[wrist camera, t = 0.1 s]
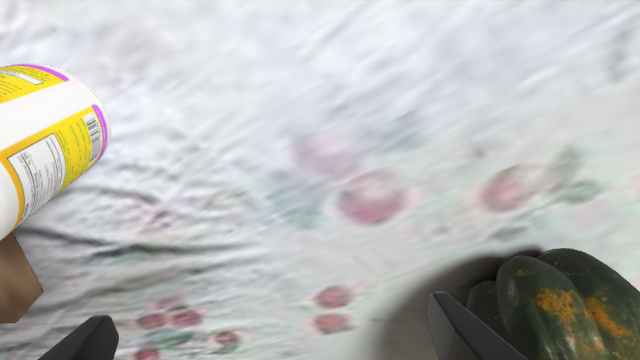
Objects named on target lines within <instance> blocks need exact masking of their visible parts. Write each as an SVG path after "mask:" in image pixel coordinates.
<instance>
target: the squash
mask: <svg viewBox="0 0 640 360" xmlns="http://www.w3.org/2000/svg"><path fill="white" fill-rule="evenodd" d="M465 308H466V309H467V310H469V311H470V312H471V313H472V314H473V315H475V316H476V317H477V318H478V319H479V320H481V321H482V322H483V323H484V324H485V325H487V326H488V327H489V328H490V329H491V330H493V331H494V332H495V333H496V334H497V335H499V336H500V337H501V338H502V339H503V340H505V341H506V342H507V343H508V344H509V345H511V346H512V347H513V348H514V349H515V350H517V351H518V352H519V353H520V354H521V355H523V356H524V357H525V358H526V359H527V360H640V292H639V291H638V290H637V289H636V288H635V287H634V286H632V285H631V284H630V283H629V282H628V281H627V280H625V279H624V278H623V277H622V276H621V275H620V274H618V273H617V272H616V271H614V270H613V269H612V268H610V267H609V266H607V265H606V264H604V263H603V262H601V261H599V260H598V259H596V258H594V257H593V256H591V255H589V254H587V253H585V252H582V251H578V250H574V249H567V248H560V249H552V250H548V251H546V252H544V253H542V254H541V255H539V256H537V257H536V258H534V257H530V256H514V257H512V258H510V259H509V260H507V261H505V262H503V264H502V265H501V266H500V268H499V270H498V272H497V278H496V281H483V282H481V283H480V284H478V285H477V286H475V287H474V288H472V290H471V291H470V294H469V296H468V301H467V305H466V306H465Z"/></svg>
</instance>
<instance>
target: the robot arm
mask: <svg viewBox="0 0 640 360" xmlns="http://www.w3.org/2000/svg"><path fill="white" fill-rule="evenodd" d="M427 319H428V323H429V326H430V330H431V333H432V337H433V340H434V344H435V347H436V351H437V354H438V358H439V360H527V359H526V358H525V357H524V356H523V355H521V354H520V353H519V352H518V351H517V350H515V349H514V348H513V347H512V346H511V345H509V344H508V343H507V342H506V341H505V340H503V339H502V338H501V337H500V336H499V335H497V334H496V333H495V332H494V331H493V330H491V329H490V328H489V327H488V326H487V325H485V324H484V323H483V322H482V321H481V320H479V319H478V318H477V317H476V316H475V315H473V314H472V313H471V312H470V311H469V310H467V309H466V308H465V307H464V306H462V305H461V304H460V303H459V302H458V301H456V300H455V299H454V298H453V297H452V296H450V295H449V294H448V293H446V292H433V293H431V295H430V299H429V304H428V309H427ZM118 341H119V335H118V332H117V330H116V327H115V325H114V323H113V321H112V318H111V317H110V316H109V315H96V316H92V317H90V318H89V319H88V320H86V321H85V322H84V323H83V324H81V325H80V326H79V327H78V328H76V329H75V330H74V331H73V332H71V333H70V334H69V335H68V336H66V337H65V338H64V339H63V340H61V341H60V342H59V343H58V344H56V345H55V346H54V347H53V348H51V349H50V350H49V351H48V352H46V353H45V354H44V355H43V356H41V357H40V358H39V359H38V360H113V359H114V355H115V352H116V349H117V346H118Z"/></svg>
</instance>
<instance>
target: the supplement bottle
mask: <svg viewBox="0 0 640 360" xmlns="http://www.w3.org/2000/svg"><path fill="white" fill-rule="evenodd" d="M110 137H111V125H110V120H109V116H108V114H107V111H106V109H105V107H104V105H103V103H102V102H101V100H100V99H99V98H98V96H97V95H96V94H95V93H94V92H93V90H92V89H91V88H90V87H89V86H87V85H86V84H85V83H84V82H83V81H81V80H80V79H78V78H77V77H75V76H74V75H72V74H70V73H69V72H67V71H64V70H62V69H60V68H57V67H54V66H50V65H46V64H40V63H23V64H16V65H11V66H6V67H1V68H0V240H2V239H3V238H4V237H5V236H7V235H8V234H9V233H11V232H12V231H13V230H14V229H15V228H16V227H18V226H19V225H20V224H21V223H22V222H24V221H25V220H26V219H27V218H29V217H30V216H31V215H32V214H33V213H35V212H36V211H37V210H38V209H40V208H41V207H42V206H43V205H44V204H46V203H47V202H48V201H49V200H51V199H52V198H53V197H54V196H56V195H57V194H58V193H59V192H61V191H62V190H63V189H64V188H65V187H67V186H68V185H69V184H70V183H72V182H73V181H74V180H75V179H76V178H78V177H79V176H80V175H81V174H83V173H84V172H85V171H86V170H87V169H89V168H90V167H91V166H92V165H93V164H94V163H96V162H97V161H98V160H99V159H100V158H101V157H102V155H103V154H104V153H105V151H106V149H107V147H108V145H109V142H110Z"/></svg>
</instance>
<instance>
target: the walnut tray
mask: <svg viewBox="0 0 640 360" xmlns="http://www.w3.org/2000/svg"><path fill="white" fill-rule="evenodd" d="M42 292H43V289H42V288H41V286H40V284H39V282H38V280H37V278H36V276H35V274H34V272H33V270H32V268H31V266H30V265H29V263H28V261H27V259H26V257H25V255H24V253H23V251H22V249H21V247H20V245H19V243H18V242H17V240H16V238H15V236H14V234H13V232H11V233H9V234H8V235H7V236H5V237H4V238H3V239H2V240H0V324H3V323H16V322H17V321H18V320H19V319H20V318H21V317H22V315H23V314H24V313H25V312H26V311H27V310H28V309H29V307H30V306H31V305H32V304H33V303H34V302H35V300H36V299H37V298H38V297H39V296H40V295H41V294H42Z"/></svg>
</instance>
